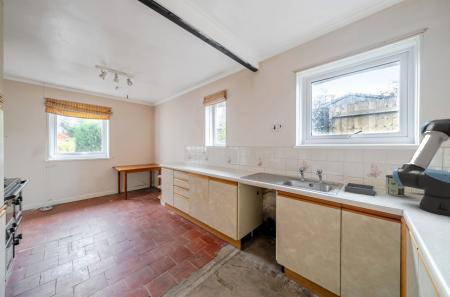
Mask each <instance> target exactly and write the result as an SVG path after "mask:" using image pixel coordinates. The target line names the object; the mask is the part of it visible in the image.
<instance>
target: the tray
mask: <svg viewBox="0 0 450 297" xmlns="http://www.w3.org/2000/svg"><path fill="white" fill-rule="evenodd" d="M375 190H376V186H375V185H370V184H363V183H362V184H361V183H355V182H347V183H346V184H345V185H344V192H349V193H353V194H354V193H355V194H362V195H368V196H375V192H376V191H375Z"/></svg>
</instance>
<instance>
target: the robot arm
mask: <svg viewBox="0 0 450 297" xmlns="http://www.w3.org/2000/svg"><path fill="white" fill-rule="evenodd" d="M420 129H421V130H420V133H421V136H422V138H423V139H422V140H421V142H420V144H419V145H418V146H417V148H416V150H415V152H414V153H413V154H412V155H411V158H410V159H409V161H408V162H407V163H404V164H402V166H401V167H397V168H394V170H393V171H392V175H393V179H394V181H395V183H396V184H398V185H402V186H405V187H406V188H412V189H417V190H422V191H423V192H424V193H423V197H422V198H421V200H420V202H419V206H418V207H419V209H421V210H423V211H425V212H428V213H433V214H436V215H442V216H448V217H450V171H447V170H441V169H435V168H434V169H433V168H429V165H430V164H431V162H432V160H433V159H434V157H435V155H436V154H437V152H438V151H439V149H440V148H441V146H442V144H443V143H445V142H447V141H449V140H450V118H444V119H443V118H441V119H433V120H428V121H425V122H424V123H423V124H422V125H421V128H420Z"/></svg>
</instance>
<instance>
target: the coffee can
mask: <svg viewBox="0 0 450 297" xmlns="http://www.w3.org/2000/svg"><path fill="white" fill-rule="evenodd" d="M405 189H406V188H405V186H402V185H398V184H396V183H395V181H394V179H393V174H386V175H385V194H387V195H391V196H395V197H404V196H405V191H406V190H405Z"/></svg>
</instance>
